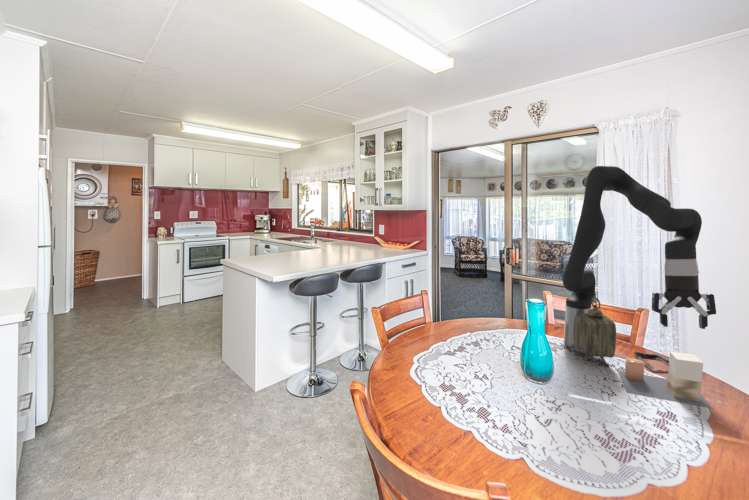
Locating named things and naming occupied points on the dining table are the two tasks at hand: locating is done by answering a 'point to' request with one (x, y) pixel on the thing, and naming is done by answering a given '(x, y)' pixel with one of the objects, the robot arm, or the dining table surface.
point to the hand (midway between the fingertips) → (683, 327)
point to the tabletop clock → (595, 333)
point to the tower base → (684, 388)
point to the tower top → (685, 366)
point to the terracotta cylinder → (634, 369)
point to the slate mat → (657, 390)
